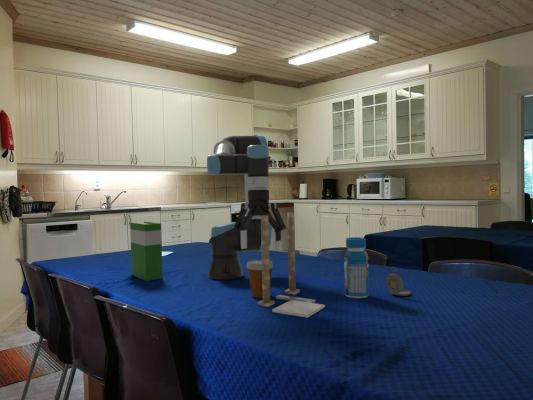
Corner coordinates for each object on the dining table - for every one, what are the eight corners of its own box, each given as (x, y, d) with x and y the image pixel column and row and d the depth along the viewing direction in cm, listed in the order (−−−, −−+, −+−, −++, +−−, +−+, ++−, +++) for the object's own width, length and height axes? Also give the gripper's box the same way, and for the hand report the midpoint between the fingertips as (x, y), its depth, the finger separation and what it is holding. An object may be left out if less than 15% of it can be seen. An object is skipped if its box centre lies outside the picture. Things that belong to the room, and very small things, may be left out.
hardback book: (131, 274, 189) (130, 222, 188) (147, 272, 193) (145, 221, 193) (146, 280, 175) (144, 224, 174) (162, 278, 179) (161, 223, 179)
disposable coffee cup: (271, 299, 140) (270, 264, 140) (244, 298, 142) (243, 264, 142) (276, 292, 149) (275, 259, 149) (250, 291, 151) (249, 259, 151)
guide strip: (273, 299, 139) (273, 297, 139) (279, 297, 143) (279, 294, 143) (310, 305, 132) (310, 302, 132) (315, 302, 135) (315, 299, 135)
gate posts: (258, 305, 133) (255, 215, 133) (290, 290, 152) (288, 212, 151) (268, 306, 131) (266, 216, 131) (299, 292, 150) (298, 212, 149)
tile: (272, 311, 126) (272, 309, 126) (291, 302, 136) (291, 300, 136) (307, 317, 119) (307, 314, 119) (324, 307, 129) (324, 304, 129)
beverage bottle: (355, 300, 137) (354, 240, 136) (339, 294, 144) (338, 238, 144) (374, 296, 141) (373, 238, 140) (358, 291, 148) (357, 236, 148)
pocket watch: (410, 292, 145) (410, 264, 145) (410, 298, 138) (410, 268, 137) (386, 291, 148) (386, 263, 148) (385, 297, 140) (384, 267, 140)
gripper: (223, 190, 148) (225, 248, 149) (284, 188, 135) (285, 252, 136) (236, 190, 155) (237, 246, 155) (294, 188, 142) (296, 249, 142)
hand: (259, 249), depth 145 cm, fingers open, 13 cm apart
